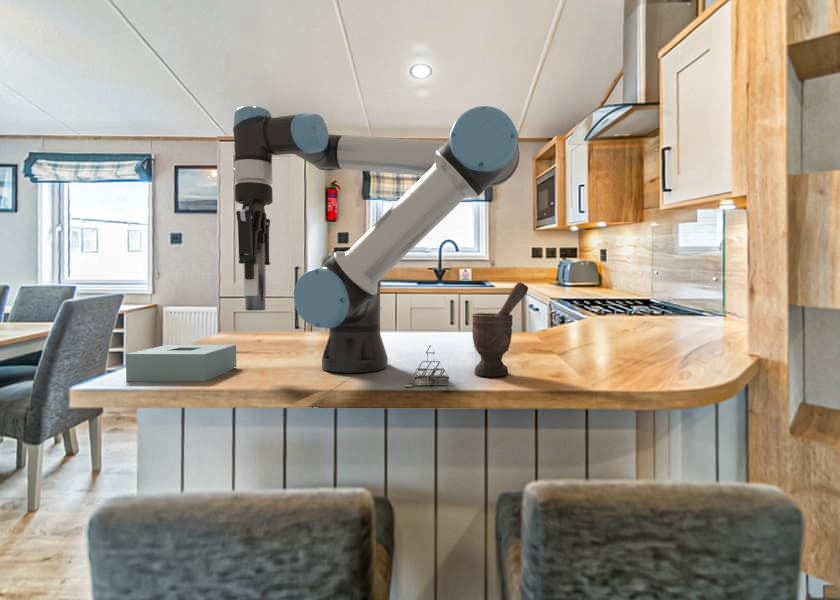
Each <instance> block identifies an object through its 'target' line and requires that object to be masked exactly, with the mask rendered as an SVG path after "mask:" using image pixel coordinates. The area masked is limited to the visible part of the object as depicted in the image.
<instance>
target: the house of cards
mask: <svg viewBox="0 0 840 600" xmlns="http://www.w3.org/2000/svg"><path fill="white" fill-rule="evenodd" d="M430 348H431V349H432V350H433V352H432V351H431V352H430V351H429V350H430ZM425 353H426V360H422V361H421V363H420V364H419V366H418V368H416V369H415V371H414V373H413V375H411V377H412V378H411V380H412V381H411V383H412V384H406V385H405V387H413V386H428V387H430V386H438V385H440V386H449V385H450V376H449V375H448V373H447V372H446V370H445V368H444V366H443V365H441V367H442V368H440V367H439V365H440V364H441V361H440V360H429V358H428V356H429V354H436V351H435V350H434V348H433V347H432V345H431V344H430V345H429V347H428V348H427V350H426V352H425ZM424 363H428V365H427V367H424V368H423V367H422V368H421V366H422V364H424ZM433 363H437V364H436V366H435V367H433V368H429V367H430V365H431V364H432V366H434V365H433ZM438 367H439V368H438ZM428 371H429V372H428ZM438 371H440V372H439V373H438V374H436V373H437V372H438ZM420 372H422V374H421V373H420ZM427 372H428V374H427ZM418 373H419V375H418ZM444 373H445V374H444ZM442 390H443V391H444V390H447V391H452V390H453V388H452V387H451V388H450V387H448V388H447V387H443V388H442Z"/></svg>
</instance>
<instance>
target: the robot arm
mask: <svg viewBox="0 0 840 600" xmlns="http://www.w3.org/2000/svg"><path fill="white" fill-rule="evenodd" d="M233 117H234V118H233V128H232V131H233V145H234V168H232V173H233V174H234V181H235V182H236V184H235V185H234V201H235V202H236V203H237V204H239V205H242V207H241V210H240V209H239V210H238V209H237V210H236V211H235V212H236V213H235V214H236V219H237V237H238V241H237V242H238V264H243V287H244V288H243V292H244V293H243V294H244V295H243V296H244V297H245V296H259V293H258V264H255V263H256V254H257V243H262V244H264V248H265V296H266V295H267V286H266V285H267V279H266V277H267V275H266V274H267V272H266V271H267V270H266V269H267V267H266V266H270V264H271V261H270V226H271V220H270V218H267V213H266V210H265V206H269V205H272V203H273V187H272V186H271V185H272V184H273V156H280V155H281V156H282V155H284V156H285V155H294V156H297V157H299V158H300V159H302V160H304V161H306V162H308V163H309V164H311V165H312V166H315V167H316V168H317V169H318V170H321V171H324V172H336V171H338V170H351V171H360V172H361V171H362V172H373V173H385V174H400V175H411V176H421V178H419V180H417V181H416V182H415V183H414V184H413V185H412V186H411V187H410V188H409V189H408V190H407V191H406V192H405V193H404V194H403V195H402V196H401V197H400V198H399V199H398V200H397V201H396V202H395V203H394V204H393V205H392V206H391V207H390V208H389V209H388V210H387V211H386V212H385V213H383V215H382V216H381V217H380V218H379V219H378V220H376V222H375V223H374V224H372V226H371V227H370V228H369V229H368V230H367V231H366V232H365V233H364V234H363V235H362V236H361V237H360V238H359V239H358V240H357V241H356V242H355V243H354V244H353V245H352V246H351V247H350V248H349V249H348V250H346V251H339V250H337V251H335V252H334V253H333V254H332V255H331V256H330V257H329V258H328V259H327V260H326V261H325V262H324V263H323V264H322V265H321V266H320V267H314V268H312V269H309V270H307V271H305V272H304V273H303V274H301V276H300V277H299V278H298V279H297V281H296V283H295V286H294V289H293V303H294V306H295V307H294V308H295V309H296V312H297V313H298V315H299V316H300V318H301V319H302V320H303V321H304V322H306V324H308V325H309V326H312V327H314V328H318V329H329V334H328V335H329V336H328V339H327V342H326V345H325V349H324V351H323V354H322V358H321V369H322V370H324V371H327V372H334V373H345V374H346V373H369V372H371V373H372V372H378V371H382V370H385V369H387V368H388V367H389V366H388V365H389V364H388V363H389V361H388V360H389V359H388V358H389V357H388V355H387V350H386V348H385V345H384V343H383V338H382V336H381V286H382V284H381V283H382V281H381V279H382V278H384V277H385V276H386V274H388V273H389V272H390V271H391V270H392V269H393V268H394V267H395V266H396V265H397V264H398V263H399V262H400V261H402V260H403V259H404V257H406V256H407V255H408V253H409V252H411V250H412V249H414V248H415V247H416V246H417V245H418V244H419V243H420V242H422V240H423V239H424V238H425V237H426V236H427V235H428V234H430V232H431V231H432V230H433V229H435V228H436V226H438V224H440V223H441V221H443V220H444V219H445V218H446V217H447V216H449V214H450V213H451V212H452V211H453V210H454V209H455V208H456V207H458V205H460V203H461V202H463V201H464V200H465V199H467V198H478V197H479V196H480V195H481V194H482V193H484V191H485V190H487V189H488V188H489V187H490V188H491V187H496V186H500V185H502V184H504V183H506V182H507V181H508V180H509V179H511V177H512V176H513V175H514V174H515V173H516V170H517V169H518V166H519V162H520V158H521V156H520V149H519V141H520V139H519V133H518V130H517V128H516V126H515V124H514V122H513V120H512V118H510V116H509V115H508V114H507V113H505V112H504V111H503V110H501V109H500V108H497V107H494V106H488V105H485V106H484V105H483V106H482V105H479V106H475V107H472V108H469V109H468V110H466V111H464V112H463V113H462V114H460V116H459V117H458V118H457V119H456V120H455V122H454V124H453V126H452V128H451V130H450V134H449V138H448V139H447V140H446V141H445V140H429V139H428V140H427V139H414V138H413V139H412V138H397V137H395V138H394V137H378V136H362V135H348V134H345V135H344V134H329V131H328V127H327V123H326V122H325V120H324V118H323V117H322V116H321V115H320V114H318V113H304V112H302V113H299V114H292V115H291V114H289V115H283V116H282V115H281V116H272V114H271V112H270V111H269V110H268V109H266V108H263V107H260V106H256V105H255V106H251V105H244V106H241V107H238V108H236V109H235V111H234V116H233Z"/></svg>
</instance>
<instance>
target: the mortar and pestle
mask: <svg viewBox="0 0 840 600" xmlns="http://www.w3.org/2000/svg"><path fill="white" fill-rule="evenodd" d="M528 291H529V287H528V286H527V285H526V284H525V283H523V282H521V281H519V282H517V283H516V284H515V285H514V287H513V288H512V289H511V291H510V293H509V295H508V297H507V299H506V300H505V302H504V304H503V306H502V307H501V309H500V310H499V311H498V312H497V313H496V312H493V313H492V312H489V313H488V312H477V313H473V314H472V321H471V322H472V323H471V324H472V328H471V329H472V332H471V333H472V340H473V345H474V349H475V351H476V352H477V353H478V354H479V356H480V360H479V363H477V365H476V366H475V368H474V372H473V373H474V375H477V376H480V377H489V378H490V377H491V378H492V377H502V376H509V369H508V366H506V364H504V362H503V360H502V359H503V355H504V354H506V353H507V352H508V351H509V348H510V345H511V341H512V336H513V335H512V334H513V329H512V328H513V319H514V318H513V315H512V314H511V313H512V311H513V310H514V309H515V307H516V306H517V305H518V304H519V303H520V302H521V300H523V298H524V297H525V296H526V295H527V293H528Z"/></svg>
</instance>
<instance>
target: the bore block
mask: <svg viewBox="0 0 840 600" xmlns="http://www.w3.org/2000/svg"><path fill="white" fill-rule="evenodd" d="M234 367H236V368H237V344H165V345H161V346H155V347H152V348H147V349H142V350H138V351H133V352H129V353H126V354H125V373H126V374H125V376H126V378H125V380H126V381H125V382H207V381H209V380H212V379H214V378H217V377H219V376H222V375H223V374H227V373H228V371H229V370H231V369H233V368H234ZM233 370H234V369H233ZM231 371H232V370H231ZM229 372H230V371H229Z"/></svg>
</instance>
